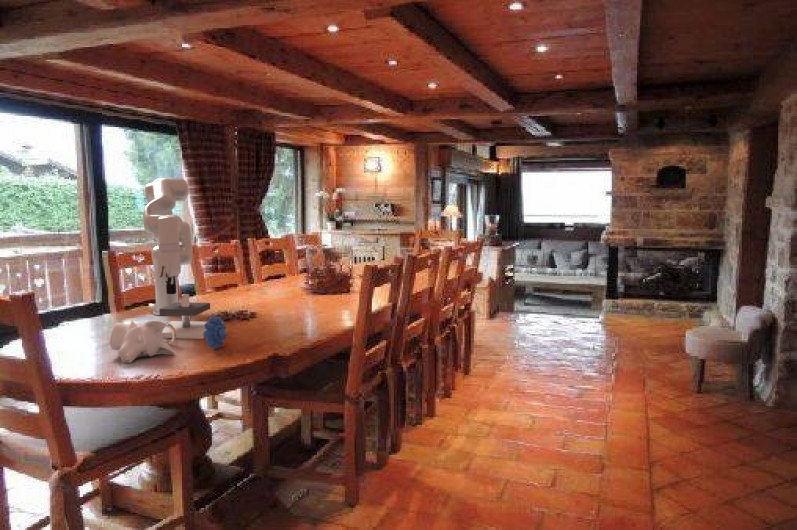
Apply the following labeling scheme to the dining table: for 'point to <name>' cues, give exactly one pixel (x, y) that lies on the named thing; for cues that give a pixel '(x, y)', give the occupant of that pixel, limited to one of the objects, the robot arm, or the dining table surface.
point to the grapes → (215, 332)
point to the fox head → (139, 340)
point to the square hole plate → (184, 309)
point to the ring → (172, 333)
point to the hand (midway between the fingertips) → (171, 293)
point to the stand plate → (185, 330)
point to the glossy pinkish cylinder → (185, 304)
